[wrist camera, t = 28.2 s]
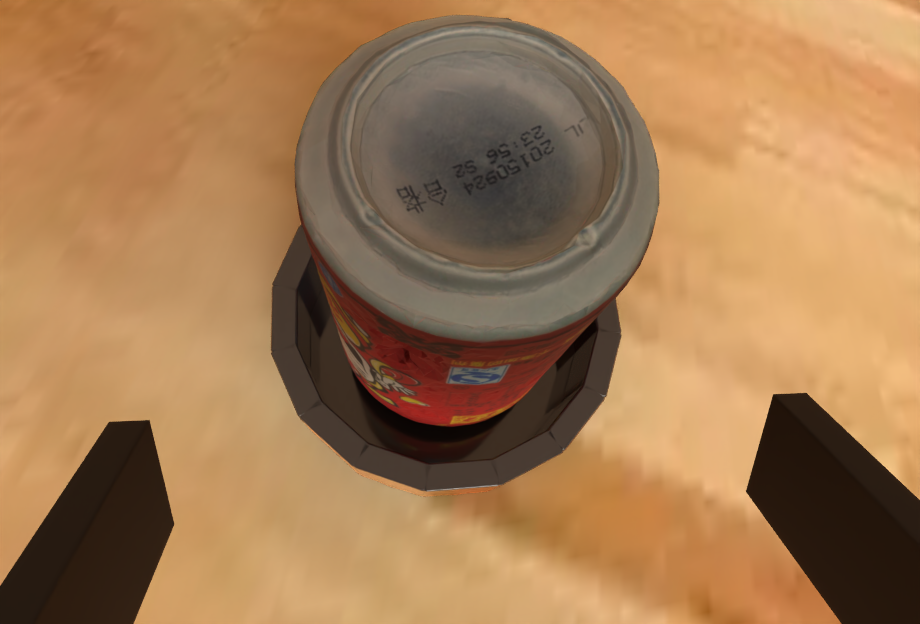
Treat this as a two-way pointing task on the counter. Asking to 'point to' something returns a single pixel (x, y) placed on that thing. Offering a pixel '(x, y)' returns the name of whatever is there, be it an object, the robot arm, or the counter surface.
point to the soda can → (471, 208)
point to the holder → (417, 444)
